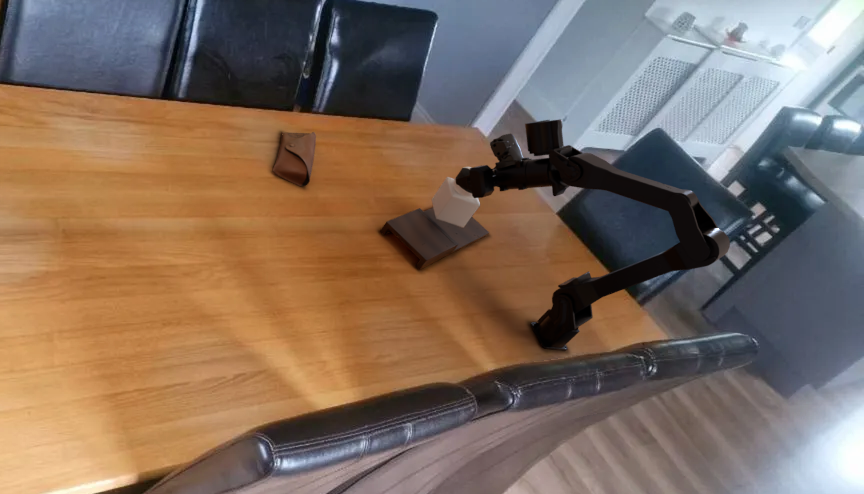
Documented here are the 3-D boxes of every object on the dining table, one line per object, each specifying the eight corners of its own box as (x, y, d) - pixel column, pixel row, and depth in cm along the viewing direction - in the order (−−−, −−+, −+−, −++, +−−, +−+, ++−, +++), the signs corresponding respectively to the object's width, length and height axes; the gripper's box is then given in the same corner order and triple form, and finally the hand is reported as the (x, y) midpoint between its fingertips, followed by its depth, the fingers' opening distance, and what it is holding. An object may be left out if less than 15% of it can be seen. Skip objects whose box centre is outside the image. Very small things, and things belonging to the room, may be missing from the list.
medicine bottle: (463, 228, 156) (493, 188, 149) (435, 219, 155) (464, 177, 148) (458, 208, 162) (486, 168, 154) (430, 199, 160) (458, 158, 153)
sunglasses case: (280, 129, 164) (303, 115, 161) (297, 151, 168) (320, 137, 164) (271, 172, 151) (296, 158, 147) (290, 195, 154) (315, 181, 151)
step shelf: (451, 201, 171) (457, 192, 170) (487, 234, 167) (494, 226, 165) (379, 231, 151) (386, 221, 149) (419, 270, 146) (426, 260, 145)
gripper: (549, 129, 147) (482, 137, 158) (503, 138, 135) (434, 147, 146) (555, 181, 148) (488, 186, 160) (510, 196, 136) (441, 200, 148)
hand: (464, 179), depth 153 cm, fingers closed on medicine bottle, 6 cm apart
